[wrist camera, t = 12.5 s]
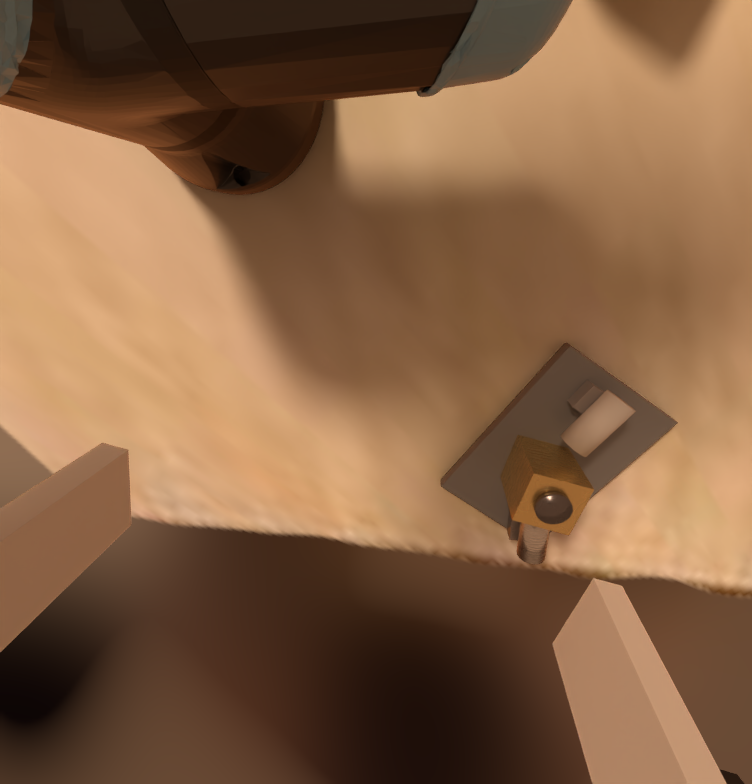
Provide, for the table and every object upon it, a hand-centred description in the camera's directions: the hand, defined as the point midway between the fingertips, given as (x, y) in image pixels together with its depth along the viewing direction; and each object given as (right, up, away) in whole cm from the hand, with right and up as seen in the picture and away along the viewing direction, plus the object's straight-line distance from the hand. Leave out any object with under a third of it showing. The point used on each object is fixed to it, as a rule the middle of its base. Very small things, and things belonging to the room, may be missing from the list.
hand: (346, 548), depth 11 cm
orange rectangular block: (+16, -2, +26) cm, 31 cm away
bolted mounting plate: (+17, -1, +27) cm, 32 cm away
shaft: (+16, -8, +29) cm, 34 cm away
